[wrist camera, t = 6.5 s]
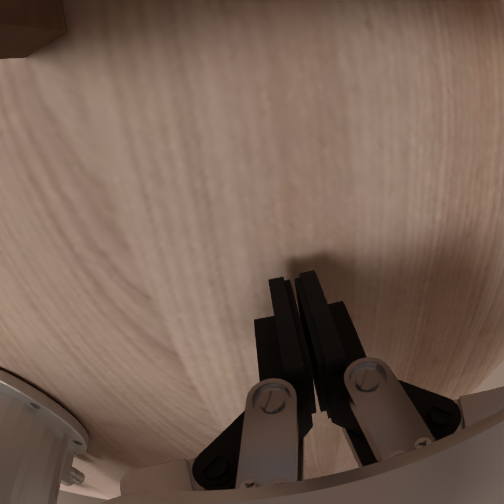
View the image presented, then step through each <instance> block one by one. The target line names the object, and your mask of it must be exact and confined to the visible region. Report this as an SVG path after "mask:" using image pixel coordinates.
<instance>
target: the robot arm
mask: <svg viewBox="0 0 504 504" xmlns="http://www.w3.org/2000/svg"><path fill="white" fill-rule="evenodd" d="M299 276H300V277H299V278H295V287H296V293H297V300H298V307H299V312H298V308H297V305H296V301H295V297H294V293H293V289H292V286H291V282H290V280H285V281H284V278H283V277H279V278H274V279H270V280H268V281H269V287H270V293H271V299H272V305H273V310H274V316H271V317H265V318H260V319H255V320H254V326H255V337H256V347H257V358H258V368H259V378H260V382H259V383H257V384H256V385H255V386H253V387H252V388H251V390H250V391H249V393H248V395H247V399H246V406H245V411H244V412H243V413H242V414H241V415H240V416H239V417H238V418H237V419H236V420H235V421H234V422H233V423H232V424H231V425H230V426H229V427H228V428H227V429H225V430H224V431H223V432H222V433H221V434H220V435H219V436H218V437H217V438H216V439H215V440H214V441H213V442H212V443H211V444H210V445H209V446H208V447H207V448H205V449H204V450H203V451H202V452H201V453H200V454H199V455H198V456H197V458H194V459H190V460H186V459H181V460H176V461H172V462H168V463H163V464H158V465H153V466H148V467H143V468H137V469H133V470H130V471H128V472H127V473H126V474H125V475H124V476H123V478H122V480H121V484H120V490H121V496H119V497H116V498H113V499H110V500H107V501H105V502H103V503H101V504H504V386H503V387H499V388H496V389H492V390H488V391H483V392H479V393H474V394H469V395H464V396H460V397H459V398H458V399H456V400H451V399H449V398H447V397H444V396H441V395H438V394H436V393H433V392H430V391H427V390H424V389H422V388H419V387H416V386H414V385H411V384H408V383H406V382H403V381H400V380H398V379H397V378H396V376H395V375H394V373H393V372H392V370H391V369H390V367H389V366H388V365H387V364H386V363H385V362H383V361H382V360H380V359H377V358H372V357H369V358H367V357H366V355H365V352H364V350H363V347H362V345H361V342H360V340H359V337H358V335H357V332H356V330H355V328H354V325H353V323H352V321H351V318H350V316H349V313H348V311H347V309H346V306H345V304H344V302H342V301H341V302H336V303H332V304H327V301H326V299H325V296H324V293H323V291H322V288H321V285H320V283H319V280H318V278H317V275H316V272H315V271H314V270H313V271H308V272H304V273H300V274H299ZM299 314H300V316H299ZM313 380H314V384H313ZM314 385H315V389H316V393H317V397H318V402H319V406H320V410H321V412H323V411H327V414H328V418H331V420H332V422H333V423H335V424H337V425H339V426H341V427H342V431H343V433H344V435H345V437H346V440H347V442H348V444H349V446H350V448H351V451H352V453H353V455H354V457H355V459H356V462H357V464H358V466H359V468H356V469H353V470H349V471H345V472H341V473H336V474H332V475H328V476H323V477H318V478H313V479H308V480H304V437H305V436H306V434H307V433H308V432H309V431H310V429H311V428H312V427H313V423H312V414H314V413H316V405H315V394H314ZM88 443H89V437H88V434H87V432H86V430H85V429H84V427H83V426H82V425H81V424H80V423H79V421H78V420H77V419H75V418H74V417H73V416H72V415H71V414H70V413H69V412H68V411H66V410H65V409H64V408H63V407H61V406H60V405H59V404H58V403H56V402H55V401H53V400H52V399H50V398H49V397H48V396H46V395H45V394H43V393H42V392H40V391H38V390H37V389H35V388H34V387H32V386H31V385H29V384H27V383H25V382H24V381H22V380H20V379H18V378H17V377H15V376H13V375H11V374H9V373H7V372H5V371H2V370H0V504H57V498H58V493H59V488H60V483H62V484H64V485H66V486H71V485H72V484H73V483H74V482H76V483H78V484H80V483H82V482H84V479H85V476H84V474H83V473H82V472H80V471H79V470H77V469H76V468H74V467H72V463H73V459H74V455H79V454H82V453H84V452H85V451H86V450H87V447H88Z"/></svg>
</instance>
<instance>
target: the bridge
mask: <svg viewBox="0 0 504 504" xmlns="http://www.w3.org/2000/svg"><path fill="white" fill-rule="evenodd" d="M66 32H67V31H66V26H65V20H64V15H63V9H62V2H61V0H0V59H7V58H24V57H25V56H27V55H28V54H30V53H32V52H33V51H35V50H36V49H38V48H40V47H41V46H43V45H45V44H46V43H48V42H50V41H52V40H53V39H55V38H57V37H59V36H61V35H63V34H64V33H66Z"/></svg>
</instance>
